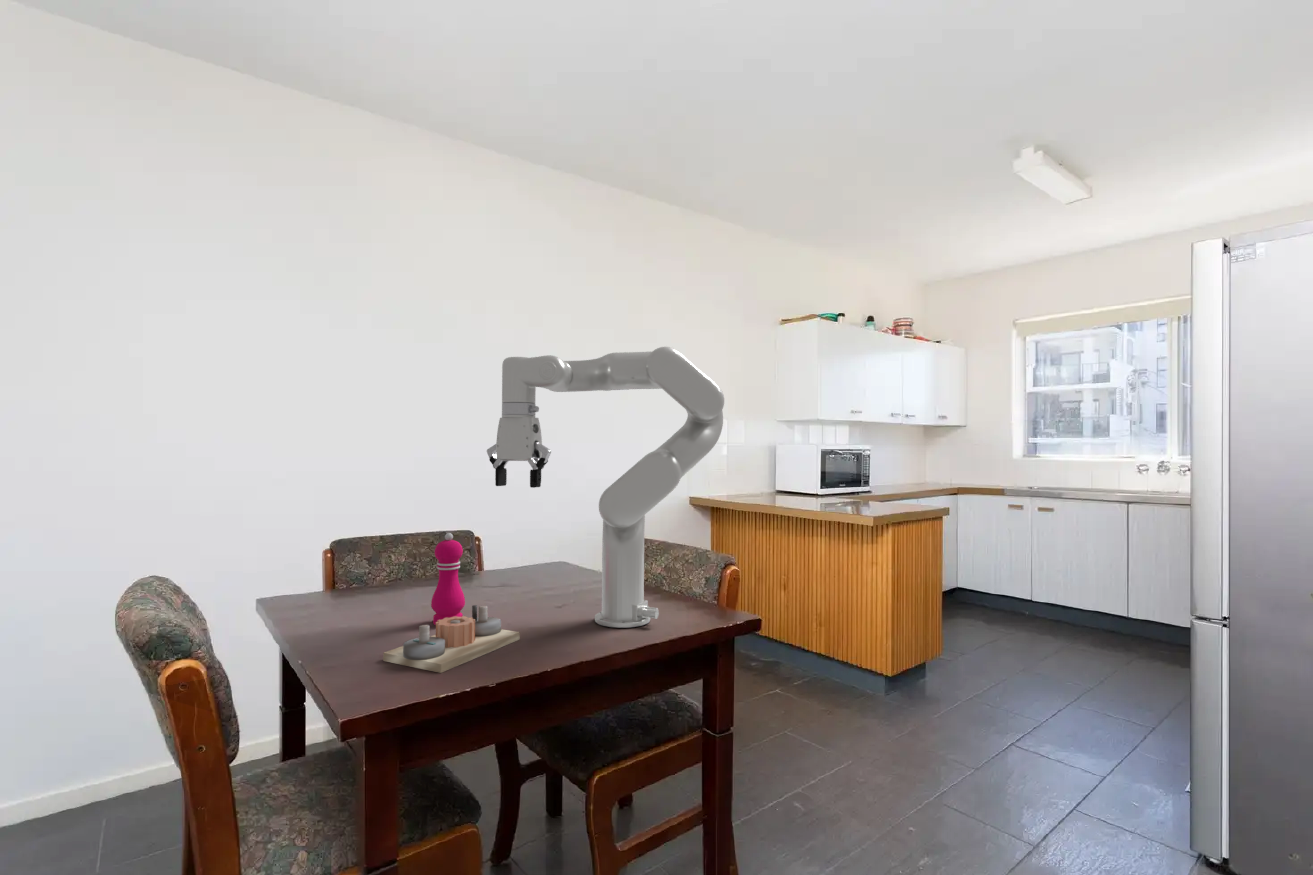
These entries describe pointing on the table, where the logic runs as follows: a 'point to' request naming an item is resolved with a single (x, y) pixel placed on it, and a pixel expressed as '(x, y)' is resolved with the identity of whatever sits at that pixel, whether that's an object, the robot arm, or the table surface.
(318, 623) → the table surface
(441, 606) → the pepper mill
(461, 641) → the gear
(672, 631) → the table surface
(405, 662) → the board
